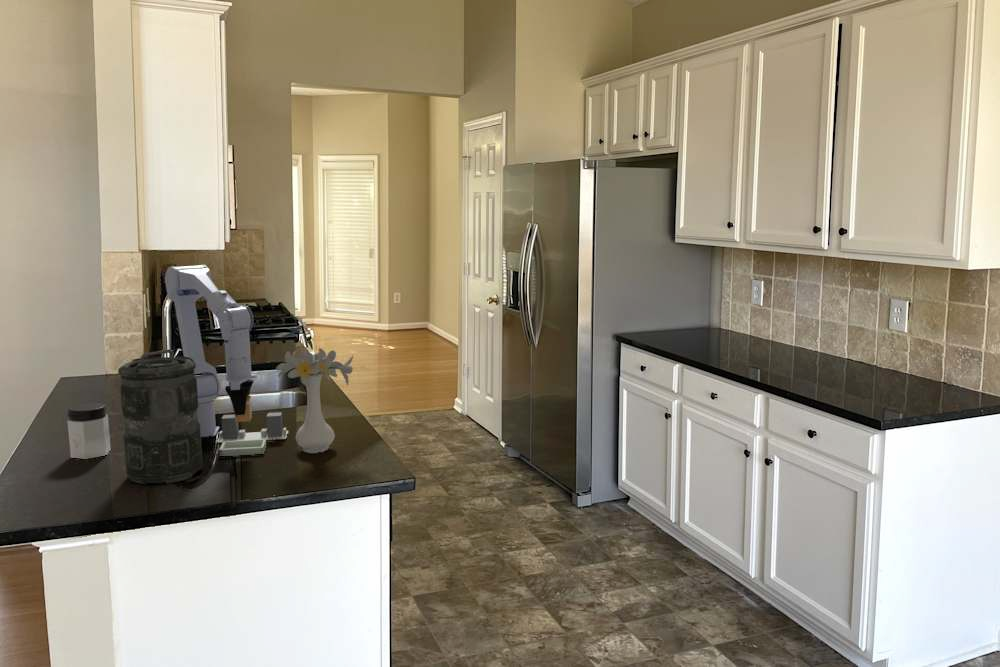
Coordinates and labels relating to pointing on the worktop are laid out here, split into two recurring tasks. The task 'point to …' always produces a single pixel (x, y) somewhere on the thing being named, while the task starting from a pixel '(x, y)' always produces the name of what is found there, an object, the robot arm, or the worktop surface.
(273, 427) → the panel
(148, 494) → the worktop surface
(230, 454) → the tray
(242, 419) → the block
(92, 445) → the jar
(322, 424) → the flower vase
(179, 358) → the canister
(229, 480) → the worktop surface
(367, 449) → the worktop surface
